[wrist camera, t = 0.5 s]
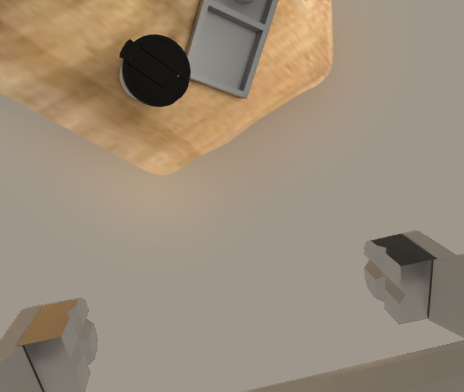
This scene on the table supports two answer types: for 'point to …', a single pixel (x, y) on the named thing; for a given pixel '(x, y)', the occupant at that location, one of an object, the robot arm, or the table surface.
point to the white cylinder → (243, 1)
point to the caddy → (228, 43)
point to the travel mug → (154, 70)
